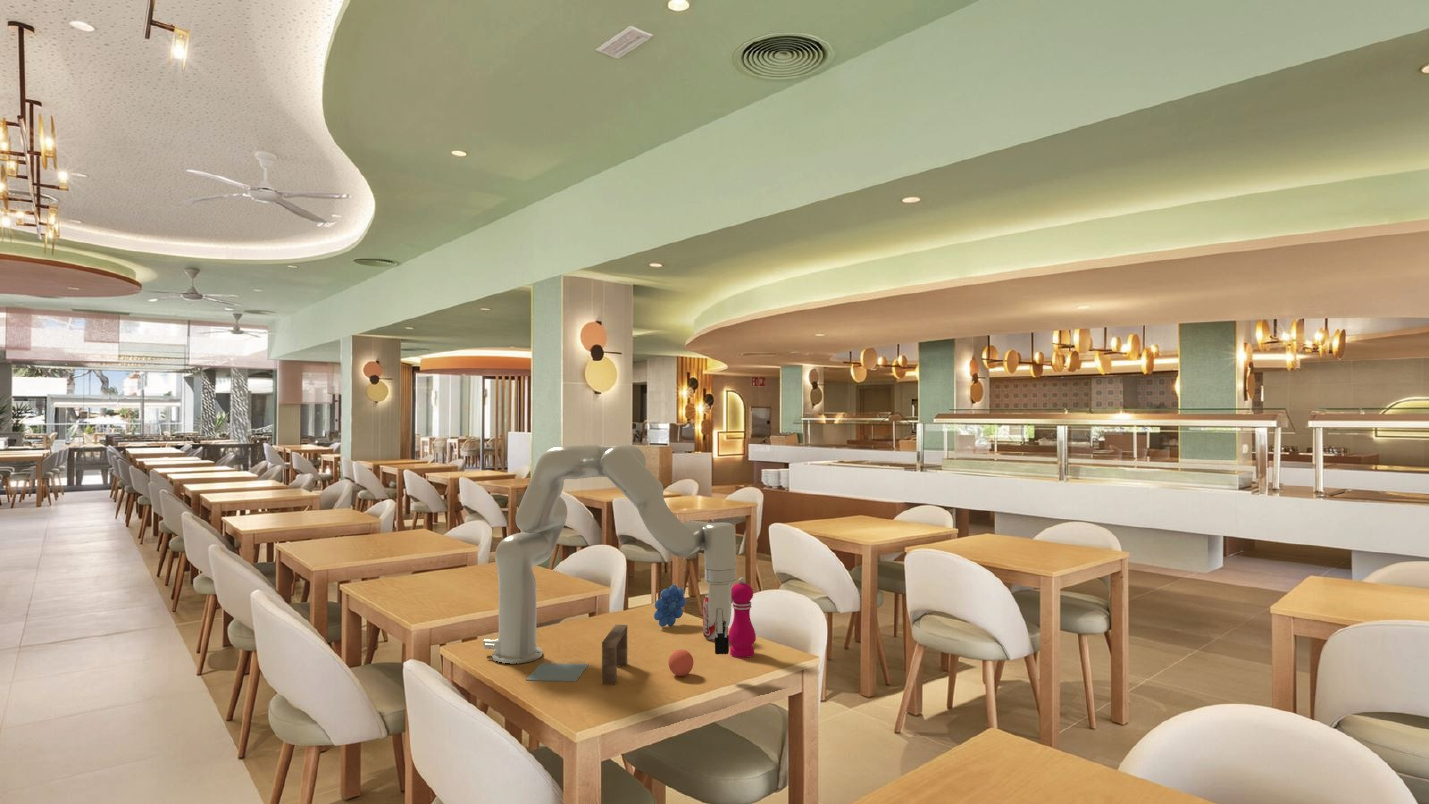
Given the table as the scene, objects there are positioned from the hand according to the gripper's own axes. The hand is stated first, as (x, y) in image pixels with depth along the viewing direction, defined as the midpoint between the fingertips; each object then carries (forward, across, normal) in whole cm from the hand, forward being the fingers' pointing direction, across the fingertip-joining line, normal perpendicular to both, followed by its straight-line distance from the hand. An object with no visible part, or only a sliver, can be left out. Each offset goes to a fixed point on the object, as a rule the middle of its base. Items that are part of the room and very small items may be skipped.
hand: (722, 653), depth 175 cm
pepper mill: (+6, -18, +4) cm, 20 cm away
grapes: (+6, -44, -19) cm, 49 cm away
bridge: (+5, -1, -26) cm, 27 cm away
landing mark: (+5, -1, -40) cm, 40 cm away
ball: (+3, -1, -10) cm, 10 cm away
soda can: (+6, -32, -4) cm, 33 cm away
